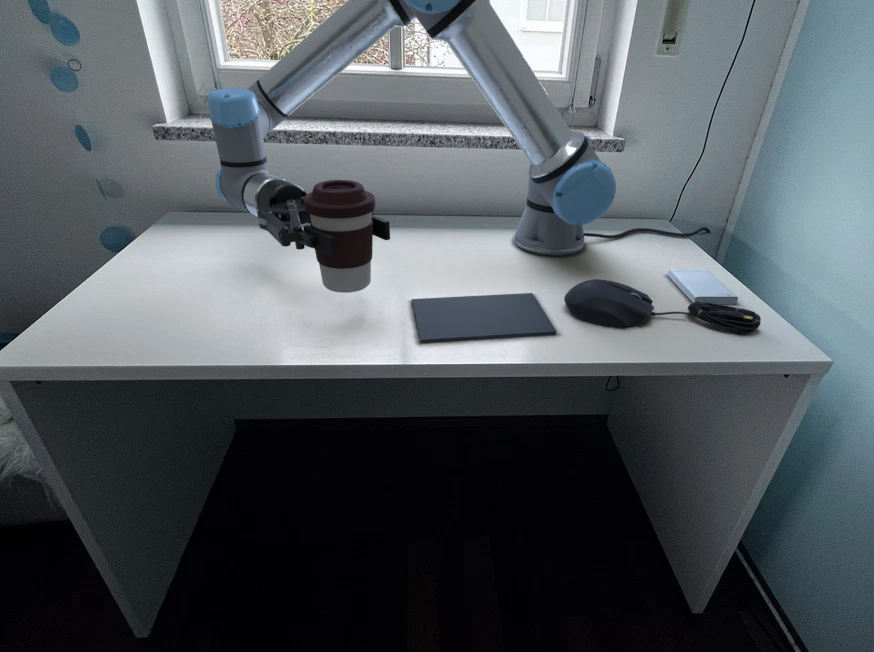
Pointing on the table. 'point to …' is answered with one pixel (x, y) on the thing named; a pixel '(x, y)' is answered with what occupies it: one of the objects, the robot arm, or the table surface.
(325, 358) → the table surface
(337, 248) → the coffee cup
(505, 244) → the table surface
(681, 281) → the hard drive
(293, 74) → the robot arm
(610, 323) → the computer mouse
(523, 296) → the mat
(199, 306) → the table surface
